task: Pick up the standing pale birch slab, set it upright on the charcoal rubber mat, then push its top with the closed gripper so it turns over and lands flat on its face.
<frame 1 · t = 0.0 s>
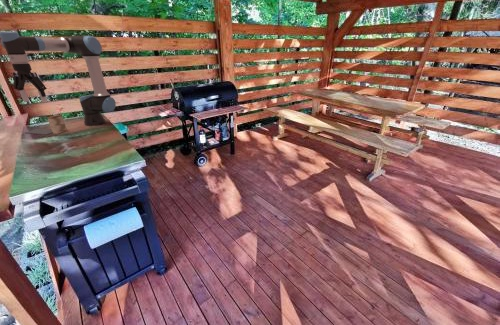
hand: (35, 101, 140), 28 cm above the table, fingers open, 13 cm apart
slab: (60, 131, 178), on the table
mat: (42, 132, 177), on the table
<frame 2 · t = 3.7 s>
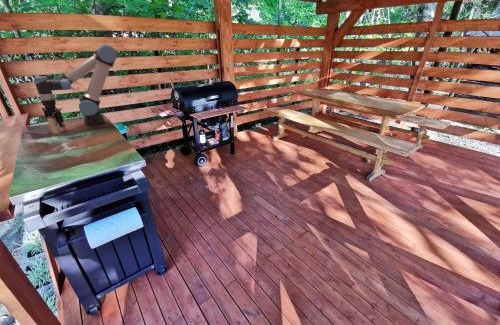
hand: (58, 130, 177), 1 cm above the table, fingers open, 5 cm apart
slab: (59, 131, 178), on the table, touching gripper
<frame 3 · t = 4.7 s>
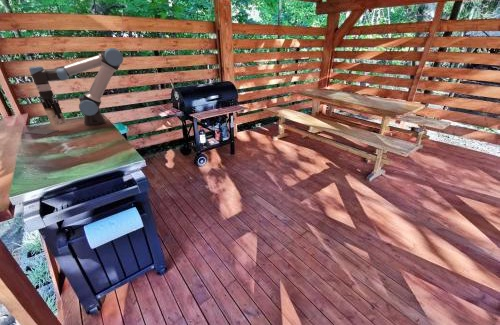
hand: (58, 122, 175), 7 cm above the table, fingers closed on slab, 4 cm apart
slab: (58, 124, 175), point 6 cm above the table, touching gripper
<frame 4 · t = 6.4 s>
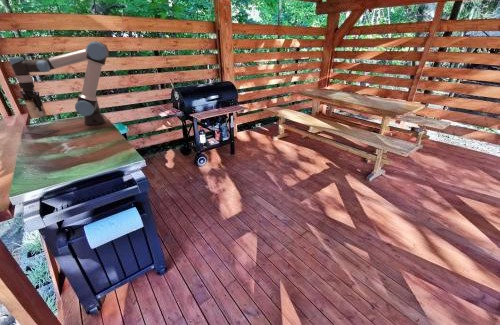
hand: (38, 115, 171), 13 cm above the table, fingers closed on slab, 4 cm apart
slab: (39, 116, 172), point 12 cm above the table, touching gripper
when the fingers open (2 cm above the table, at t = 8.4 s): slab stays where it is, resting on mat.
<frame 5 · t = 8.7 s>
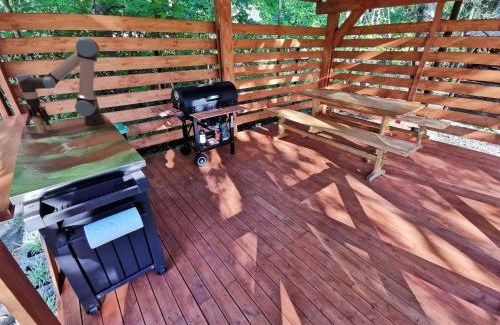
hand: (44, 129, 176), 2 cm above the table, fingers open, 8 cm apart
slab: (45, 131, 177), point 1 cm above the table, touching mat
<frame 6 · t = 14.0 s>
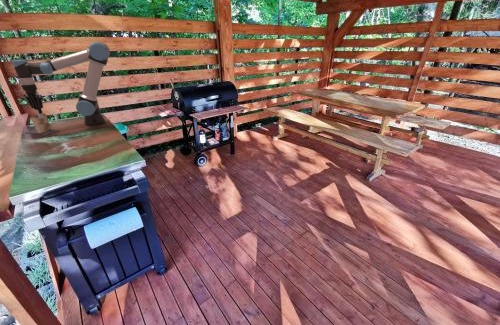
hand: (41, 117, 172), 11 cm above the table, fingers closed
slab: (45, 131, 177), point 1 cm above the table, tilted 7°, touching mat
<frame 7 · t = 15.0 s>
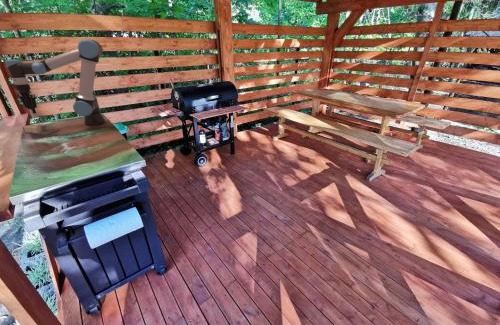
hand: (35, 117, 173), 11 cm above the table, fingers closed
slab: (42, 128, 176), point 3 cm above the table, tilted 90°, touching mat
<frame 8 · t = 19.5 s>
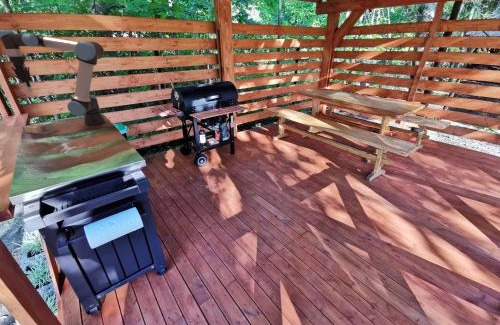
hand: (29, 91, 171), 28 cm above the table, fingers closed
nothing on the table moved.
at the end: slab tilted 90°; slab inside the target area (2.4 cm from its centre), point 2.6 cm above the table; the gripper is holding nothing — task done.
